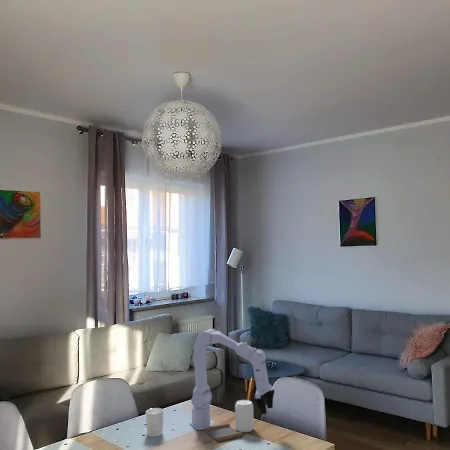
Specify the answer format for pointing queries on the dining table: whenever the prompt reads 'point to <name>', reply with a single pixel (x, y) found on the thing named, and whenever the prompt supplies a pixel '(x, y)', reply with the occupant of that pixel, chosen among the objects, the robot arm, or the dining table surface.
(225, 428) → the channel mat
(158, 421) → the white cup
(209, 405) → the robot arm
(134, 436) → the dining table surface
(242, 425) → the beverage can
